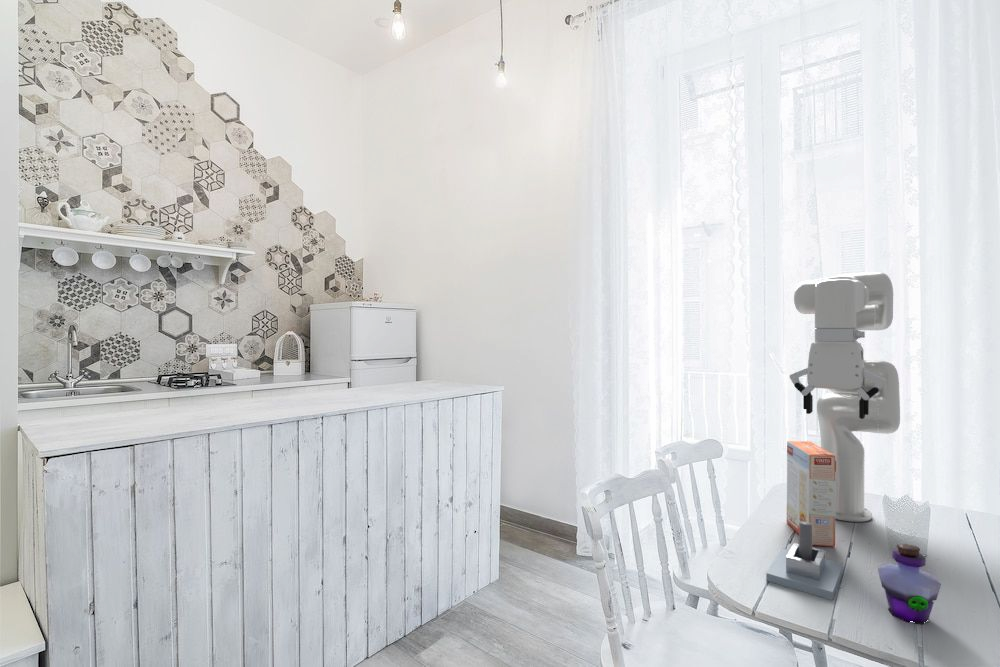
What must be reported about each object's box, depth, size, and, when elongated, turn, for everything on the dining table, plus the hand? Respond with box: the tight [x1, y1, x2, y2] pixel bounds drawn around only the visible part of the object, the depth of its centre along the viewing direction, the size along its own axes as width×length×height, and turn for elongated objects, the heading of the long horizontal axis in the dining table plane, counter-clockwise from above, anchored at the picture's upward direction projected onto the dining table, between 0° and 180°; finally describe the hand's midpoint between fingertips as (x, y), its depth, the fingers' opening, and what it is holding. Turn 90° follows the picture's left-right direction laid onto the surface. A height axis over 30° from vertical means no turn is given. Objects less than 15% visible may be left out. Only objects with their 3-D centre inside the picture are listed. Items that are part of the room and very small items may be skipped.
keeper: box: [765, 522, 844, 601], centre depth 101 cm, size 14×11×10 cm
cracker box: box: [786, 440, 836, 548], centre depth 120 cm, size 14×6×21 cm, turn 168°
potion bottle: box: [877, 543, 942, 625], centre depth 87 cm, size 9×9×12 cm
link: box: [786, 542, 826, 581], centre depth 101 cm, size 8×6×3 cm
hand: (835, 415), depth 110 cm, fingers open, 9 cm apart
